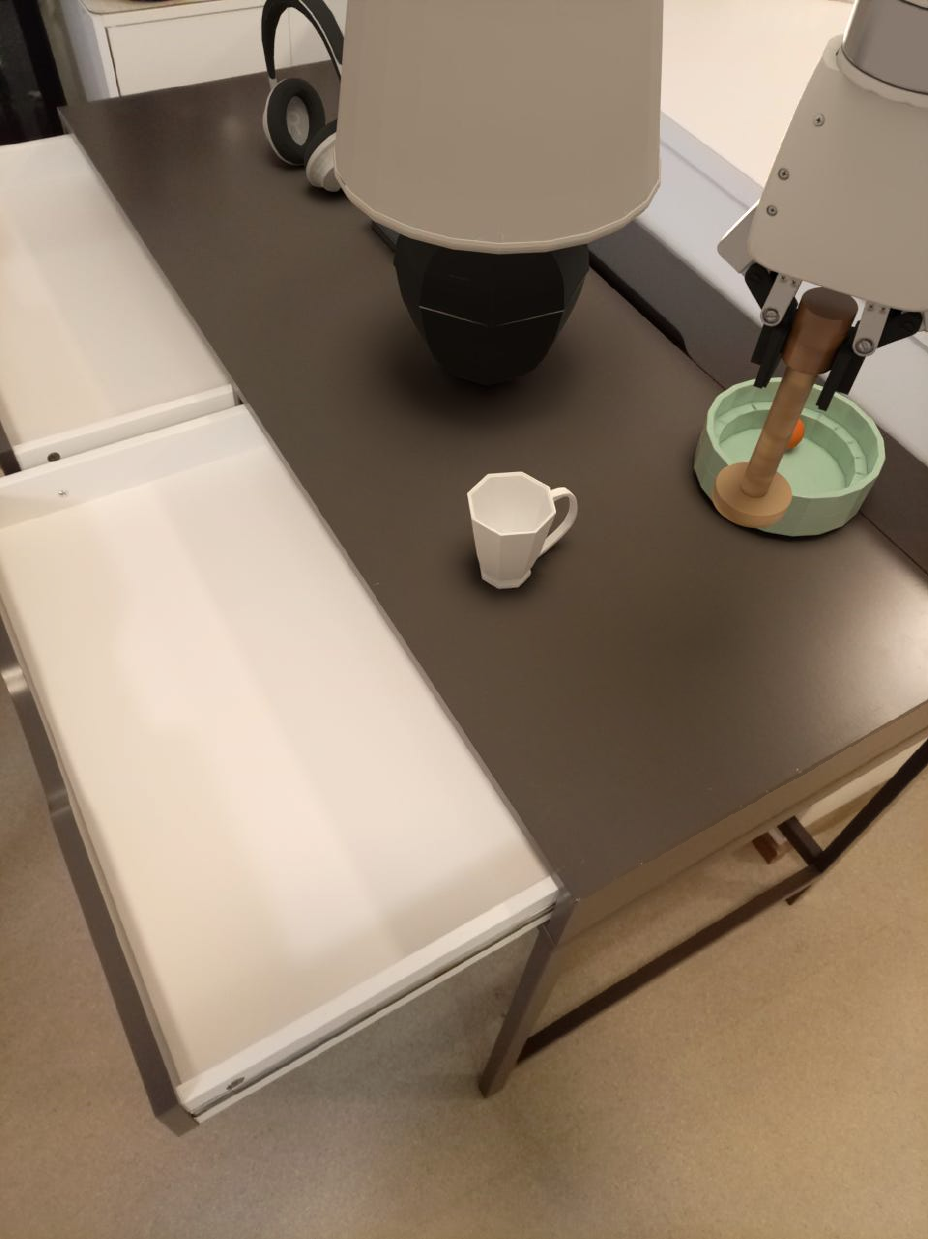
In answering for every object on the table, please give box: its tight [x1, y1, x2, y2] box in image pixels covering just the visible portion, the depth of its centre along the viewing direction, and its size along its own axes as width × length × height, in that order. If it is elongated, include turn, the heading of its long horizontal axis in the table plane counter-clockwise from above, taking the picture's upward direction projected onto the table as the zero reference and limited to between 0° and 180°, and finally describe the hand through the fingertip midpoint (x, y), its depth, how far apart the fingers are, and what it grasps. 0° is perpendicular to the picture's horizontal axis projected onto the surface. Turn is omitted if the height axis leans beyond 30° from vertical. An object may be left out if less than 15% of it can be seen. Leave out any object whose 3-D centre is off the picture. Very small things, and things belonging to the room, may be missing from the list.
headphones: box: [260, 0, 345, 193], centre depth 103 cm, size 19×8×20 cm, turn 38°
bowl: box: [693, 377, 886, 537], centre depth 79 cm, size 15×15×6 cm
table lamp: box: [333, 0, 665, 386], centre depth 74 cm, size 27×27×40 cm
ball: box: [786, 418, 805, 449], centre depth 82 cm, size 3×3×3 cm
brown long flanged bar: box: [711, 286, 859, 529], centre depth 54 cm, size 5×5×15 cm
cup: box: [466, 471, 579, 590], centre depth 72 cm, size 7×10×8 cm
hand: (797, 383), depth 52 cm, fingers closed on brown long flanged bar, 3 cm apart
